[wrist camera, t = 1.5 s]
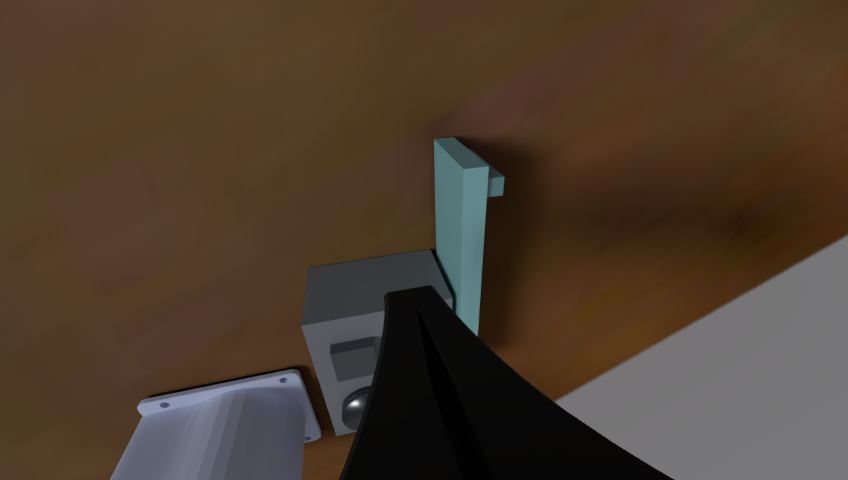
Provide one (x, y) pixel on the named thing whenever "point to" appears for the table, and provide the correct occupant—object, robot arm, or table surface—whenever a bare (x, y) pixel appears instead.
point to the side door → (462, 222)
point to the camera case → (356, 324)
